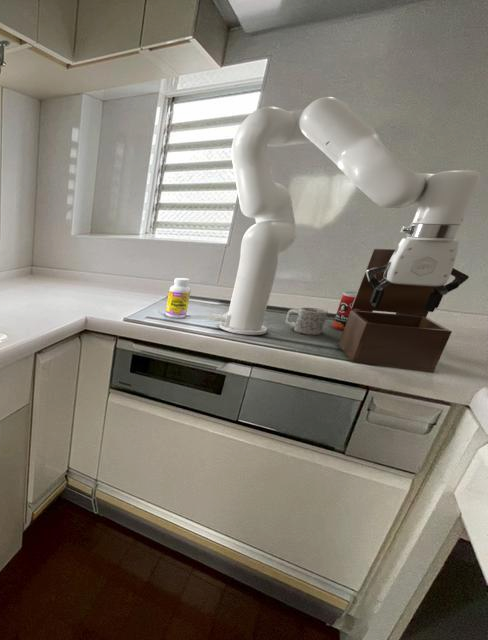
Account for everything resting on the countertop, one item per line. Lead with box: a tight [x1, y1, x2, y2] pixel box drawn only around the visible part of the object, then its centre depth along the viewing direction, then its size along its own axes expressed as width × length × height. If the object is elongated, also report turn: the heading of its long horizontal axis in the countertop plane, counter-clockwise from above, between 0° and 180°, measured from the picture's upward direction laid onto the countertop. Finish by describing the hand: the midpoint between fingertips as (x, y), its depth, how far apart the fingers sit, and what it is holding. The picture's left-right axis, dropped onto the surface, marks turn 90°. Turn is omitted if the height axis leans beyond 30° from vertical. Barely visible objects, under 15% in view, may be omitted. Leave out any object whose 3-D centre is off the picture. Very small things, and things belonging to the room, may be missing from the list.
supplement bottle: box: [165, 277, 192, 319], centre depth 138 cm, size 7×7×13 cm
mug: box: [285, 307, 329, 336], centre depth 123 cm, size 10×7×7 cm, turn 30°
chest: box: [338, 310, 453, 373], centre depth 99 cm, size 15×15×10 cm
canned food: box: [332, 290, 374, 332], centre depth 123 cm, size 8×8×11 cm
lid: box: [351, 248, 434, 316], centre depth 101 cm, size 15×15×5 cm
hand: (401, 308), depth 96 cm, fingers open, 9 cm apart
